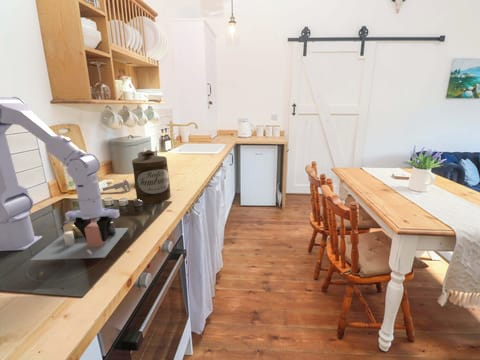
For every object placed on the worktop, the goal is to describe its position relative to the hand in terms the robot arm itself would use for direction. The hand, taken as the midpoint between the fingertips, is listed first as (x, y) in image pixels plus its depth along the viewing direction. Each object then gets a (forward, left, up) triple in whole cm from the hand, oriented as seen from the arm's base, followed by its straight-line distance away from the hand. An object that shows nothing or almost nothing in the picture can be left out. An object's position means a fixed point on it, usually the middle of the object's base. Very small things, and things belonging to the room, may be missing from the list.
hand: (97, 240), depth 79 cm
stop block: (0, 0, -1) cm, 1 cm away
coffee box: (-5, +73, -2) cm, 73 cm away
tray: (-12, +18, -2) cm, 22 cm away
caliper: (-20, +53, -3) cm, 57 cm away
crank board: (-4, +1, -2) cm, 5 cm away
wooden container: (+5, +43, -2) cm, 43 cm away
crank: (-4, +5, -1) cm, 7 cm away
